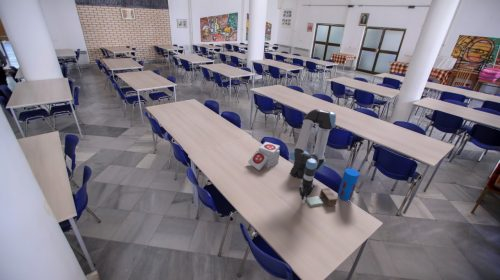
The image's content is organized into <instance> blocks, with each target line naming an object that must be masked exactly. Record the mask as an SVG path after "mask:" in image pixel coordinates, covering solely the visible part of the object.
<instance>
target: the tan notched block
mask: <svg viewBox="0 0 500 280" xmlns="http://www.w3.org/2000/svg"><path fill="white" fill-rule="evenodd" d="M319 196H322V197H326V198H327V202H326V203H327V204H326V206H327V207H328V206H329V207H335V205H336V206H337V202H338V196H336V195H335V194H334V192H333V191H332V190H331V189H330V188H329V187H326V188H325V187H324V188H321V190H320V193H319Z"/></svg>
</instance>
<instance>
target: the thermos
mask: <svg viewBox="0 0 500 280" xmlns="http://www.w3.org/2000/svg"><path fill="white" fill-rule="evenodd" d="M359 176H360V172H359V171H358V170H356V169H354V168H351V167H349V168H348V167H347V168H345V170H344V172H343V175H342V178H341V183H340V185H339V188H338V191H337V192H338V193H337V198H339V199H341V200H342V201H347V200H348V202H349V201H351V199H352V196H353V195H354V191H355V188H356V186H357V183H358V181H359Z"/></svg>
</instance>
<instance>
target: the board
mask: <svg viewBox="0 0 500 280" xmlns="http://www.w3.org/2000/svg"><path fill="white" fill-rule="evenodd" d="M319 196H320V195H317V196H316V195H315V196H308V197H307V199H306V200H305V202H306V203H308V206H309V207H316V206H323V205H324V202H323V200H322V199H321V197H319Z"/></svg>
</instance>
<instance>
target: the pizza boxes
mask: <svg viewBox="0 0 500 280" xmlns="http://www.w3.org/2000/svg"><path fill="white" fill-rule="evenodd" d="M280 146H281V145H279V144H276V143H275V144H274V143H272V142H268V141H265V142H263V144H262V145H261V146H260V147H259V148H258V149H256V151H255V152H254V153H253V155H252V156H251V157H250V159H249V160H248V161H247V163H248V164H249V165H251V166H252V167H253V168H255V169H256V170H257V171H261V169H262V168H263V167H265V168H267V169H269V168H271V167H273V166H275V165H277V164H279V160H280V159H279V158H280V152H281V151H280V148H281V147H280Z"/></svg>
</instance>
